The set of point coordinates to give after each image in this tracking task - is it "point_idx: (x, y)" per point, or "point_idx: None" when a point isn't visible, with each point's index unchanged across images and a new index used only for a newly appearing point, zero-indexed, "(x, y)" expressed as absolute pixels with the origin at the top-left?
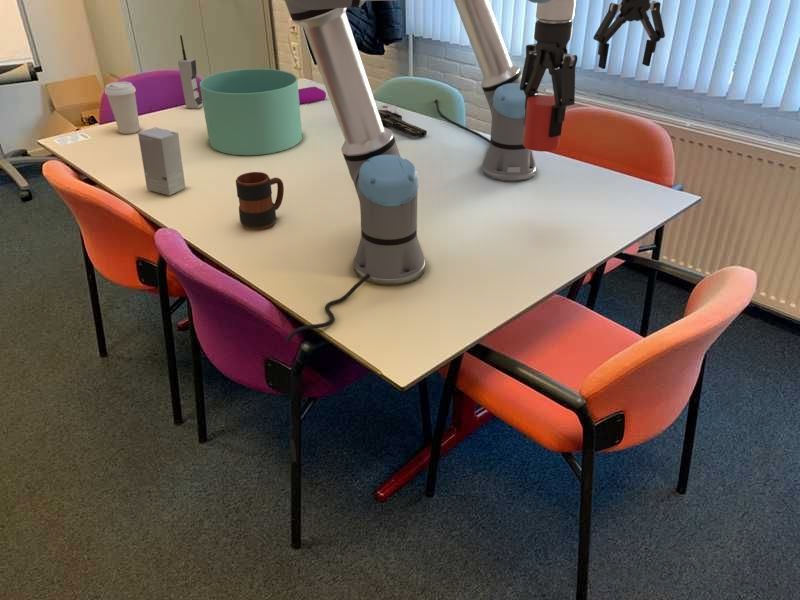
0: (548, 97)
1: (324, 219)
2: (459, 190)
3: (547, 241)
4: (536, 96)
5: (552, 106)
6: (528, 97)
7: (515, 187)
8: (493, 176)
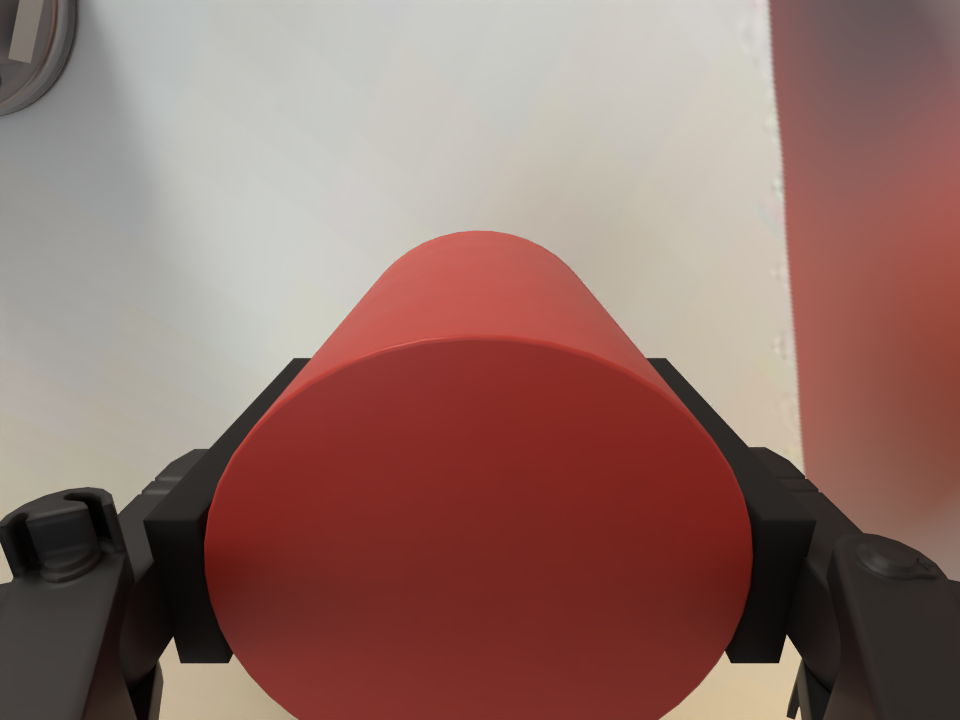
0: (374, 484)
1: (188, 704)
2: (99, 303)
3: (594, 275)
4: (251, 589)
5: (731, 660)
6: (219, 656)
7: (134, 69)
8: (10, 107)
